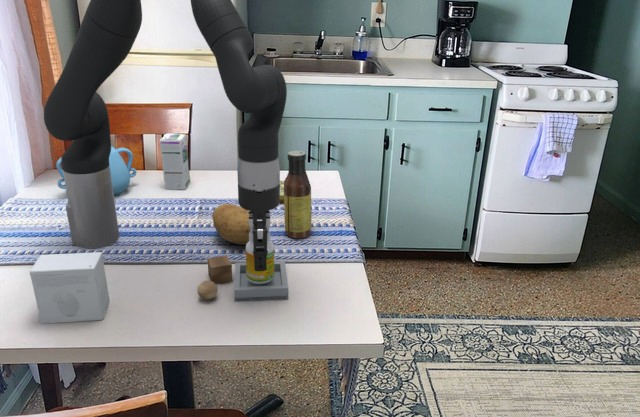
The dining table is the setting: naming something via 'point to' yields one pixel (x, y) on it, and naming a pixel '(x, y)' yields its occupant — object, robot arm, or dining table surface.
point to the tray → (260, 285)
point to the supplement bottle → (251, 274)
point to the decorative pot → (112, 170)
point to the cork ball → (207, 290)
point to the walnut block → (220, 269)
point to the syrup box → (175, 161)
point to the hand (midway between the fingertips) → (260, 261)
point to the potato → (232, 223)
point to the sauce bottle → (297, 197)
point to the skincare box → (70, 287)
